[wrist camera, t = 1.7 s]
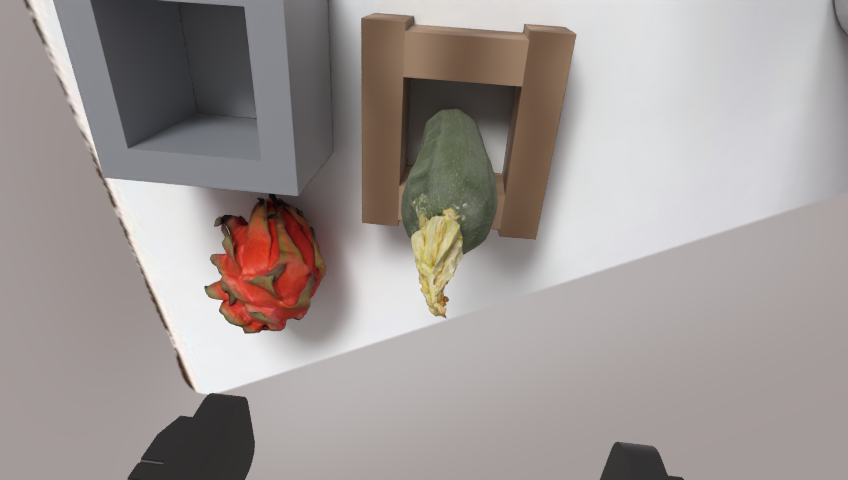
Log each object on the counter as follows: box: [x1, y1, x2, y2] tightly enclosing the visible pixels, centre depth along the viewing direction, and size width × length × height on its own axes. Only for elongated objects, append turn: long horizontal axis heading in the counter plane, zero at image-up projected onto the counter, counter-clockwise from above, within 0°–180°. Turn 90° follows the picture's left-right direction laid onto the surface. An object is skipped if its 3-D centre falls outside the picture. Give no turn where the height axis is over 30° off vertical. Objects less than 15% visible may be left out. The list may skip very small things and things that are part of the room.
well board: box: [361, 13, 576, 240], centre depth 32 cm, size 12×13×4 cm
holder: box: [53, 0, 333, 196], centre depth 29 cm, size 12×12×8 cm
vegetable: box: [401, 109, 498, 318], centre depth 25 cm, size 4×4×20 cm
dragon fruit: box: [205, 193, 326, 333], centre depth 37 cm, size 8×8×12 cm
